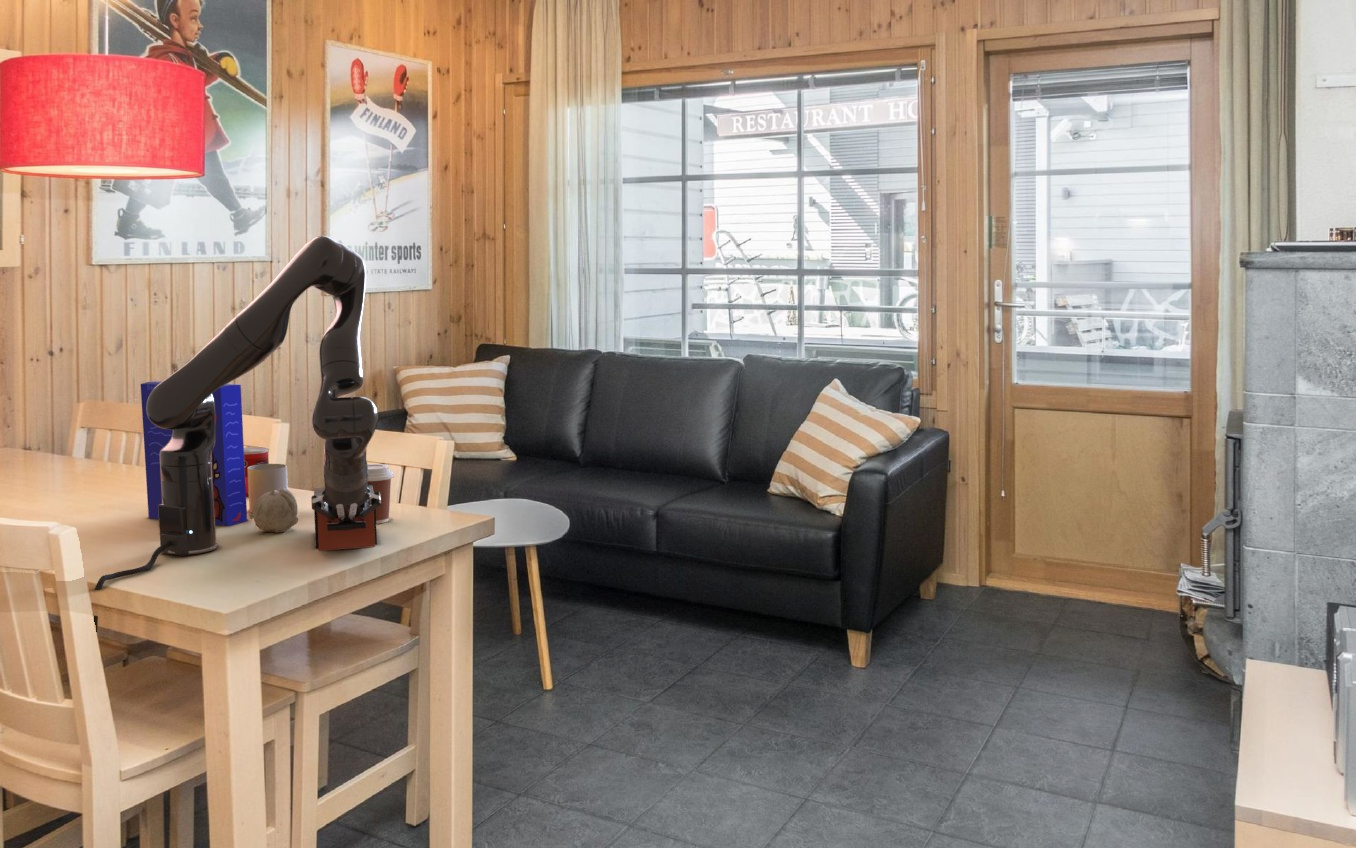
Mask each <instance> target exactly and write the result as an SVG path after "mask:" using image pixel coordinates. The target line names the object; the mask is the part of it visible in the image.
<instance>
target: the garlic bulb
mask: <svg viewBox="0 0 1356 848" xmlns="http://www.w3.org/2000/svg"><path fill="white" fill-rule="evenodd" d="M247 517H248V518H249V519H250V520H253V522H254V523H255V527H257V529H258V530H260V531H261V532H262V533H275V534H277V533H285V532H287V531H288V530H289V529H291V528H292V527H294V526H296V524H298V522H299V517H298V502H297V499H296V497H295V496H294V494H293V493H292V492H291V490H289V488H288V489H285V488H281V489H279V490H273V491H271V492H267V493H265V494H263V495H262V496H260V497H259V498H258V499H257V500H256V502H255V505H254V507H253V513H248V514H247Z"/></svg>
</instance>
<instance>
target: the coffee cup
mask: <svg viewBox="0 0 1356 848" xmlns="http://www.w3.org/2000/svg"><path fill="white" fill-rule="evenodd" d="M367 465H368V483H367V485H372V487H373V491H374V493H375V492H380V498H381V505H380V506H378V507H377V508H376V525H377V524H383V523H387V522H389V521H390V504H391V502H390V501H391V486H392V483H391V482H392V479H393V478H395V476H394V475H395V474H394V472H393V471H391V470H390V467H389V465H388V464H384V463H367Z"/></svg>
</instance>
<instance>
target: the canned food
mask: <svg viewBox="0 0 1356 848" xmlns="http://www.w3.org/2000/svg"><path fill="white" fill-rule="evenodd" d="M244 463H245V483H246V497H249V489H248V469H247V468H248V467H249V466H253V465H260V464H270V463H269V450H268V447H263V446H249V447H248V446H247V447H246V446H244Z"/></svg>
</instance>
